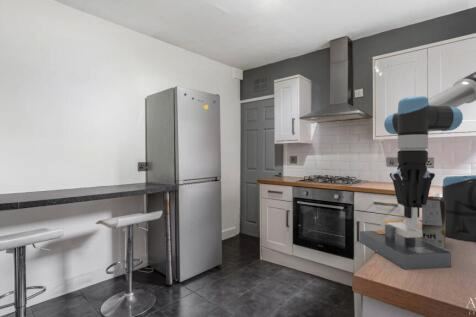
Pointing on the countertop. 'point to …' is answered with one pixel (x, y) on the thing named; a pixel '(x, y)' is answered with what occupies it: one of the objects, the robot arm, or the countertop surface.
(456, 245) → the countertop surface
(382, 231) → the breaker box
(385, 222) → the rocker
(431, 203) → the coffee box
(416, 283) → the countertop surface
